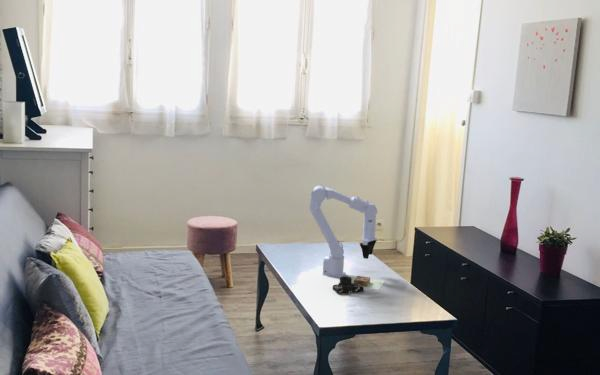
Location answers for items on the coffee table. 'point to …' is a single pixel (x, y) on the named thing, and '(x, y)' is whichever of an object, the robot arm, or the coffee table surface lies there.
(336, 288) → the film camera
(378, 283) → the mat
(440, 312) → the coffee table surface
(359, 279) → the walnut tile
